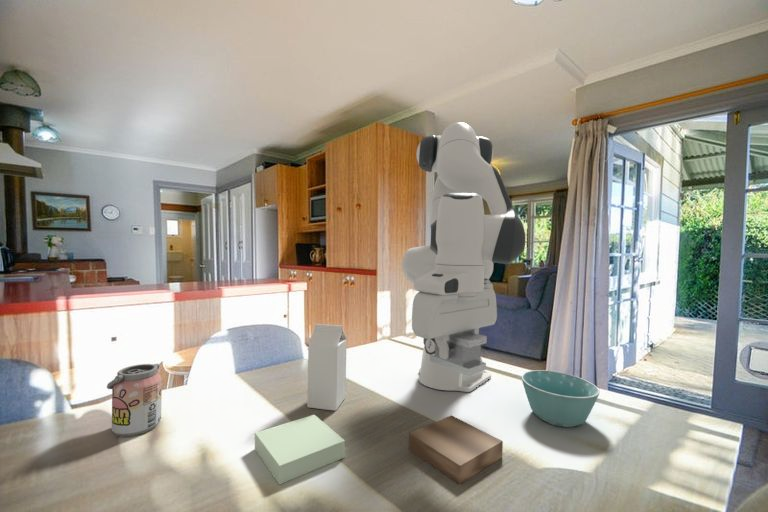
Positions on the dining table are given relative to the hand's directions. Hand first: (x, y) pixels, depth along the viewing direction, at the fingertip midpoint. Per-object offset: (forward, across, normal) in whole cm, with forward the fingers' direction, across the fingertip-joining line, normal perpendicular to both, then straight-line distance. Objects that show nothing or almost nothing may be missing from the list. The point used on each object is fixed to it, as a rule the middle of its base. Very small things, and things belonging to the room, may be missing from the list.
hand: (457, 354), depth 63 cm
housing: (+2, 0, 0) cm, 2 cm away
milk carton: (+19, +10, -32) cm, 38 cm away
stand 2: (+18, 0, 0) cm, 18 cm away
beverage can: (+18, +46, -45) cm, 67 cm away
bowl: (+19, -30, +5) cm, 35 cm away
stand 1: (+18, +24, -17) cm, 34 cm away
